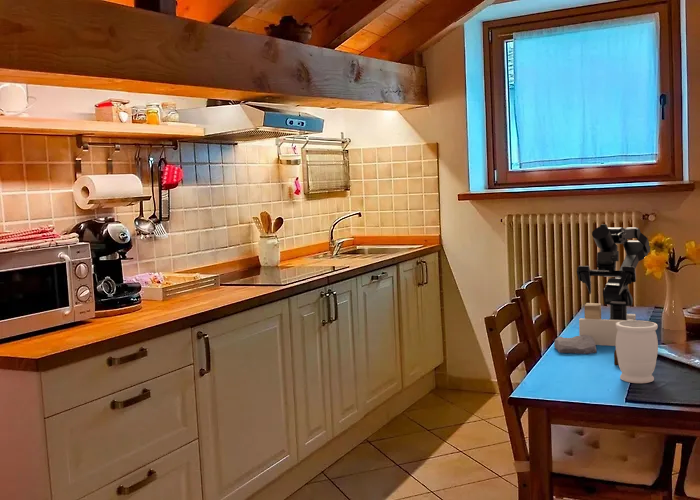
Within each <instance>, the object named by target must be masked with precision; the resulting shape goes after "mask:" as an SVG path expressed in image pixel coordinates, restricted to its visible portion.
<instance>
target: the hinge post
mask: <svg viewBox="0 0 700 500" xmlns="http://www.w3.org/2000/svg"><path fill="white" fill-rule="evenodd" d="M636 315H637V314H636V313H627V320H628V319H633V320H637V319H636Z"/></svg>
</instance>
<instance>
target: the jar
mask: <svg viewBox="0 0 700 500" xmlns="http://www.w3.org/2000/svg"><path fill="white" fill-rule="evenodd" d="M658 327H659V326H658V324H657V323H656V322H653V321H648V320H641V319H640V320H638V319H636V320H627V321H620V322H617V323H616V328H617V329H618V331H617V335H616V346H615V349H616V353H617V358H618V364H619V370H620V371H621V374H620V376H619V378H620V380H622V381H623V382H626V383H632V384H648V383H651V382H653V381H654V380H655V377H654V376H653V373H654V371H655V368H656V365H657V357H658V353H659V342H658V335H657V332H656V331H657V329H658Z"/></svg>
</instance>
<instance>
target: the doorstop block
mask: <svg viewBox="0 0 700 500" xmlns="http://www.w3.org/2000/svg"><path fill="white" fill-rule="evenodd" d="M583 308H584V319H602V303H599V302H598V303H597V302H596V303H595V302H586V303H585V304H584V307H583Z"/></svg>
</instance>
